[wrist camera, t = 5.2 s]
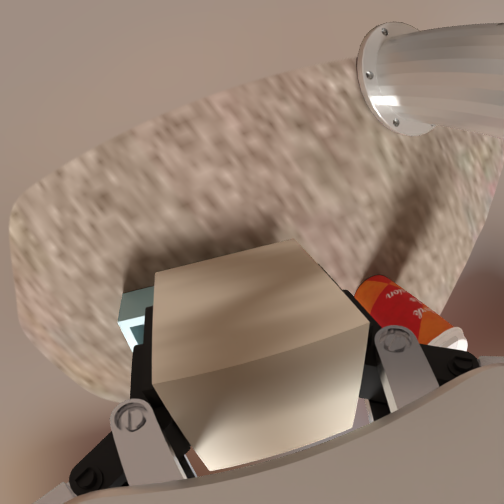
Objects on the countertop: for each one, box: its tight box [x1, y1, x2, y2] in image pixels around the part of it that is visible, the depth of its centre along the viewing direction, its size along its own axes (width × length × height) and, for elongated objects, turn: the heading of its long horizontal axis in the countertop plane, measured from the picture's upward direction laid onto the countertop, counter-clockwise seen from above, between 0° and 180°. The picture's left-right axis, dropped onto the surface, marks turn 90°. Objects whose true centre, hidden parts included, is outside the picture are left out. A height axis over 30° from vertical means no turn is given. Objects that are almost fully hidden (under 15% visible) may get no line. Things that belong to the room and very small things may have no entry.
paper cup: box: [354, 275, 468, 351], centre depth 30 cm, size 8×8×14 cm
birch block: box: [152, 239, 370, 471], centre depth 10 cm, size 5×5×5 cm
